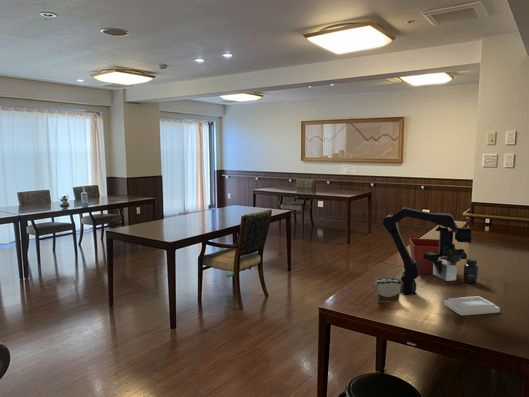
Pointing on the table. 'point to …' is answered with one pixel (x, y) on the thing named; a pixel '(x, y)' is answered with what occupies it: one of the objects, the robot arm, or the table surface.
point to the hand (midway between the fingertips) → (444, 273)
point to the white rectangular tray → (471, 305)
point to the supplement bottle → (470, 271)
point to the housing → (446, 270)
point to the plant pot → (418, 251)
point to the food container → (388, 289)
